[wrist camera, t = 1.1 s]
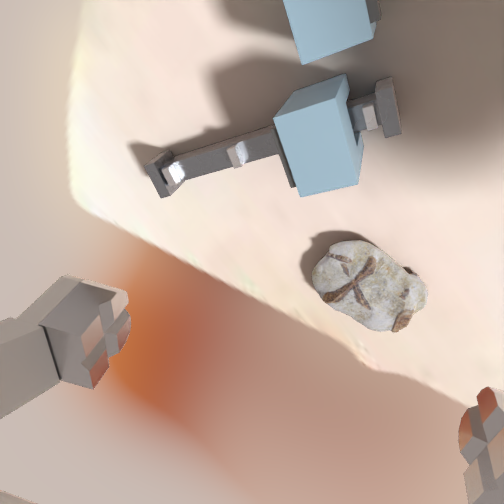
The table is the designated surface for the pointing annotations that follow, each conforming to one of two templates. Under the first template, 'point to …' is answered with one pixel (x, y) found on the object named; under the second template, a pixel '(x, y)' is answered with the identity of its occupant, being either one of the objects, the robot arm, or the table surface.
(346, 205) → the table surface
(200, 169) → the rail
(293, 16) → the light blue block
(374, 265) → the stone
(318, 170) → the light blue rectangular block
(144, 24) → the table surface
